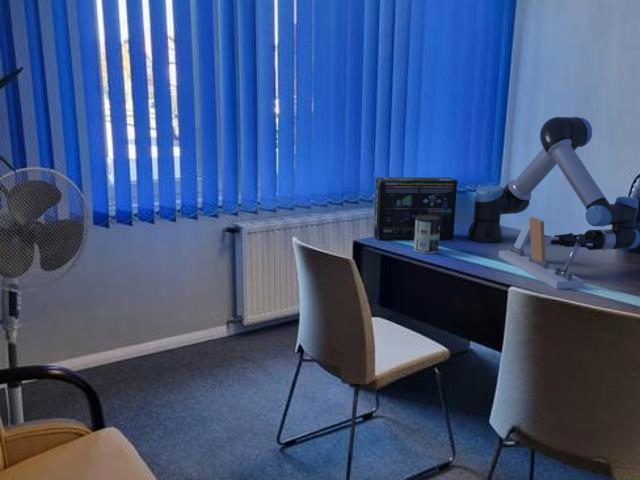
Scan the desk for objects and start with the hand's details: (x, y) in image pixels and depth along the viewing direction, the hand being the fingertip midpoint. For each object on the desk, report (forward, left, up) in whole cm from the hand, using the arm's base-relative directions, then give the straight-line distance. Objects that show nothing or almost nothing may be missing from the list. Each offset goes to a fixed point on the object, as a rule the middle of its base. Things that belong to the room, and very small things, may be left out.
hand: (541, 241), depth 201 cm
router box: (-61, +2, -12) cm, 63 cm away
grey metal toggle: (+13, -7, -8) cm, 16 cm away
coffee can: (-43, -11, -12) cm, 46 cm away
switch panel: (0, 0, -11) cm, 11 cm away
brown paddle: (0, 0, -8) cm, 8 cm away
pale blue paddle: (-13, +8, -8) cm, 17 cm away
